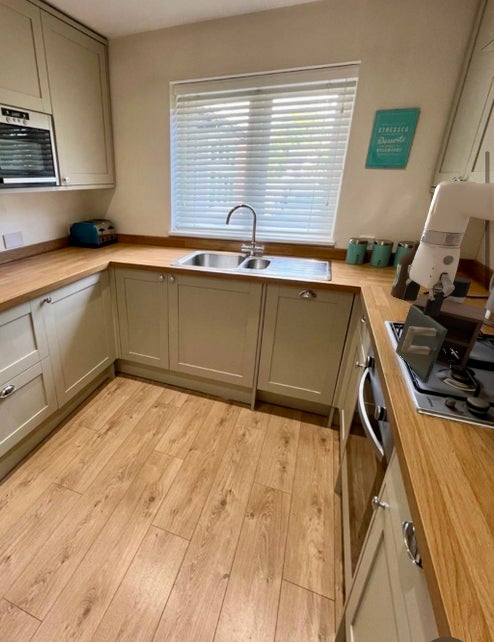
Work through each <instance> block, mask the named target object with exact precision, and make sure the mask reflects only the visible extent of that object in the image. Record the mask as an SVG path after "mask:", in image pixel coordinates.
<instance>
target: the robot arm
mask: <svg viewBox="0 0 494 642" xmlns="http://www.w3.org/2000/svg"><path fill="white" fill-rule="evenodd" d="M471 218H476V219H480V220H485V221H486V220H487V221H491V222H494V182H483V183H478V182H476V181H475V182H474V181H465V180H444V181H441V182H439V183H438V184H437V186H436V187H435V190H434V193H433V196H432V201H431V203H430V206H429V210H428V214H427V216H426V220H425V224H424V227H423V230H422V232H421V233H422V234H421V237H420V240H419V241H420V245H419V247H418V250H417V252H416V255H415V257H414V260H413V263H412V264H411V265H409V266H408V274H407V281H406V288H405V291H404V295H403V298H402V299H401V300H403V301H407V302H408V301H410V302H415V301H416V300H417V298H418V296H419V294H420V290H421V288H422V287H423V288H424V289H427V290H428V296H430V299H427V302H426V305H425V308H424V311H423V314H424V315H426V316H438V315H439V312H440V309H441V307H442V304H443V301H445V300H446V298H448V297H449V296H450V294H451V292H452V291H453V290H454V289H455V287H454V285H453V281H454V278H455V277H456V274H457V271H458V267H459V262H460V256H461V248H460V247H461V244H462V242H463V239H464V236H465V232H466V230H467V227H468V225H469V221H470V219H471ZM418 285H420V286H418ZM436 292H437V293H436Z"/></svg>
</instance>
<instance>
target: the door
mask: <svg viewBox="0 0 494 642" xmlns="http://www.w3.org/2000/svg"><path fill="white" fill-rule="evenodd" d="M446 333H447V329H445V328H444V327H443V326H441V325H440V324H439V323H437V322H436V321H435V320H433V319H432V318H431V317H429V316H426V315H424V314H423V311H421V310H420V309H419V308H417V307H416V306H415V305H413V304H410V306H409V309H408V312H407V315H406V318H405V321H404V324H403V327H402V330H401V334H400V336H399V340H398V342H397V346H396V348H395V353H396V354H397V356H399V357H400V356H401V357H402V358H403V359H404V360H405V361H406V362H407V363H408V364H409V365H410V367H411V368H412V369H411V368H410V367H409V368H410V369H411V371H412V370H413V371H412V373H414V374H415V375H416V376H417V378H419V379H420V381H421V382H422V383H423V384H427V383H428V382H429V379H430V376H431V375H432V372H433V369H434V367H435V365H436V363H435V361H436V359H437V356H438V354H439V351H440V349H441V346H442V343H443V341H444V338H445V336H446ZM401 357H400V358H401ZM402 358H401V359H402ZM403 359H402V360H403Z"/></svg>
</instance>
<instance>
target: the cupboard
mask: <svg viewBox="0 0 494 642" xmlns="http://www.w3.org/2000/svg"><path fill="white" fill-rule="evenodd" d="M427 299H430V295H429V294H428V295H427V294H423V293H419V294H418V296H417V300H416V301H413V303H412V305H415V306H416V307H417V308H419V309H420V310H421V311H424V308H425V305H426V302H427ZM486 309H487V308H485V307H481V306H477V305H473V304H468V303H465V302H464V303H459V302H455V301H450V300H445V301H443V304H442V307H441V309H440V312H439V315H438V316H429V317H431V318H432V319H433V320H435V321H436V322H437V323H439V324H440V325H441V326H443V327H444V328H445V329H447V333H446V336H445V338H444V341H443V343H442V346H441V347H449V348H451V349H453V350H455V351H457V352H458V355H459V357H462V359H461V362H460V363H459V364H460V365H462V366H464V368H465V367H466V365H467V362H468V360H469V358H470V355H471V353H472V351H473V349H474V347H475V344H476V342H477V340H478V337H479V334H480V333H481V330H482V327H483V325H484V323H485V320H486V319H485V318H486ZM453 358H454V355H451V354H450V355H448V354H446V353H445V352H444V350H443V349H442V348H441V349H440V351H439V354H438V356H437V359H436V361H435V365H440V366H443V367H446V368H448V369H451V368H450V365H451V363H452V362H451V360H453ZM448 360H450V361H448Z"/></svg>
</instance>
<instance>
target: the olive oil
mask: <svg viewBox="0 0 494 642" xmlns="http://www.w3.org/2000/svg"><path fill="white" fill-rule="evenodd" d="M419 245H420V240H419V239H418V240H417V239H416V240H415V241H414V243H413V246H412V249H410V250H409V251H407V252H406V253H404V254H402V256H401V257H400V258H399V259H398V262H397V266H396V271H395V275H394V279H393V283H392V287H391V291H390V295H391V296H392V297H393V298H396V299H400V300H403V299H402V298H403V295H404V291H405V288H406V281H407V274H408V266H409V265H411V264H412V263H413V260H414V257H415V255H416V252H417V250H418V247H419ZM418 286H421V285H418Z"/></svg>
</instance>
